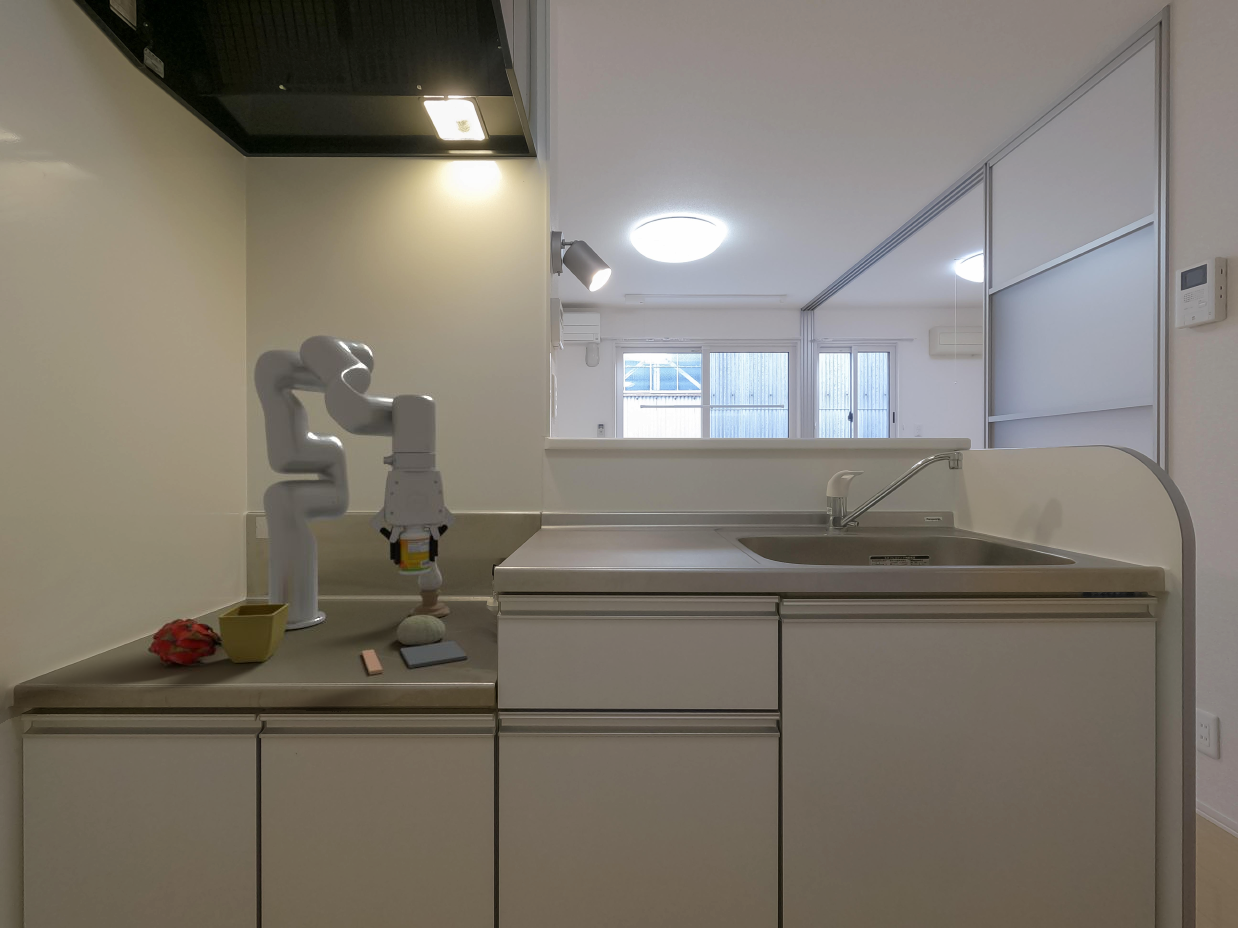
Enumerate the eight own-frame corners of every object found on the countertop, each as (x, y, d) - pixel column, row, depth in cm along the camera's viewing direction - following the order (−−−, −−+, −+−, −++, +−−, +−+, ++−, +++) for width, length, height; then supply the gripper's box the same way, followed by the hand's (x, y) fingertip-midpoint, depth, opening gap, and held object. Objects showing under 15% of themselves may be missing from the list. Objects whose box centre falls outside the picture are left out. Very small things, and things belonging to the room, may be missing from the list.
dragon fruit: (154, 668, 106) (216, 680, 105) (123, 653, 99) (189, 666, 98) (182, 623, 111) (242, 634, 110) (155, 606, 104) (218, 618, 103)
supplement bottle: (397, 570, 108) (397, 518, 108) (428, 568, 110) (428, 517, 110) (398, 576, 103) (398, 521, 103) (430, 573, 105) (430, 519, 105)
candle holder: (430, 621, 132) (430, 531, 132) (401, 616, 136) (401, 528, 135) (457, 612, 140) (457, 527, 140) (429, 607, 143) (429, 525, 143)
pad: (400, 651, 111) (400, 648, 111) (453, 643, 116) (453, 640, 116) (409, 668, 102) (409, 664, 102) (467, 658, 107) (467, 655, 107)
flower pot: (290, 649, 112) (290, 602, 112) (272, 665, 103) (272, 614, 103) (239, 652, 110) (238, 604, 110) (217, 668, 102) (216, 616, 101)
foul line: (361, 653, 109) (361, 650, 109) (373, 652, 110) (373, 649, 110) (369, 674, 99) (369, 671, 99) (382, 672, 100) (382, 669, 100)
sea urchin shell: (434, 639, 112) (407, 608, 113) (408, 666, 113) (382, 635, 114) (457, 626, 121) (431, 597, 122) (432, 651, 122) (407, 622, 123)
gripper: (364, 463, 100) (364, 569, 100) (466, 463, 108) (466, 561, 108) (361, 463, 106) (361, 562, 106) (457, 463, 114) (457, 555, 114)
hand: (414, 561), depth 107 cm, fingers closed on supplement bottle, 5 cm apart
